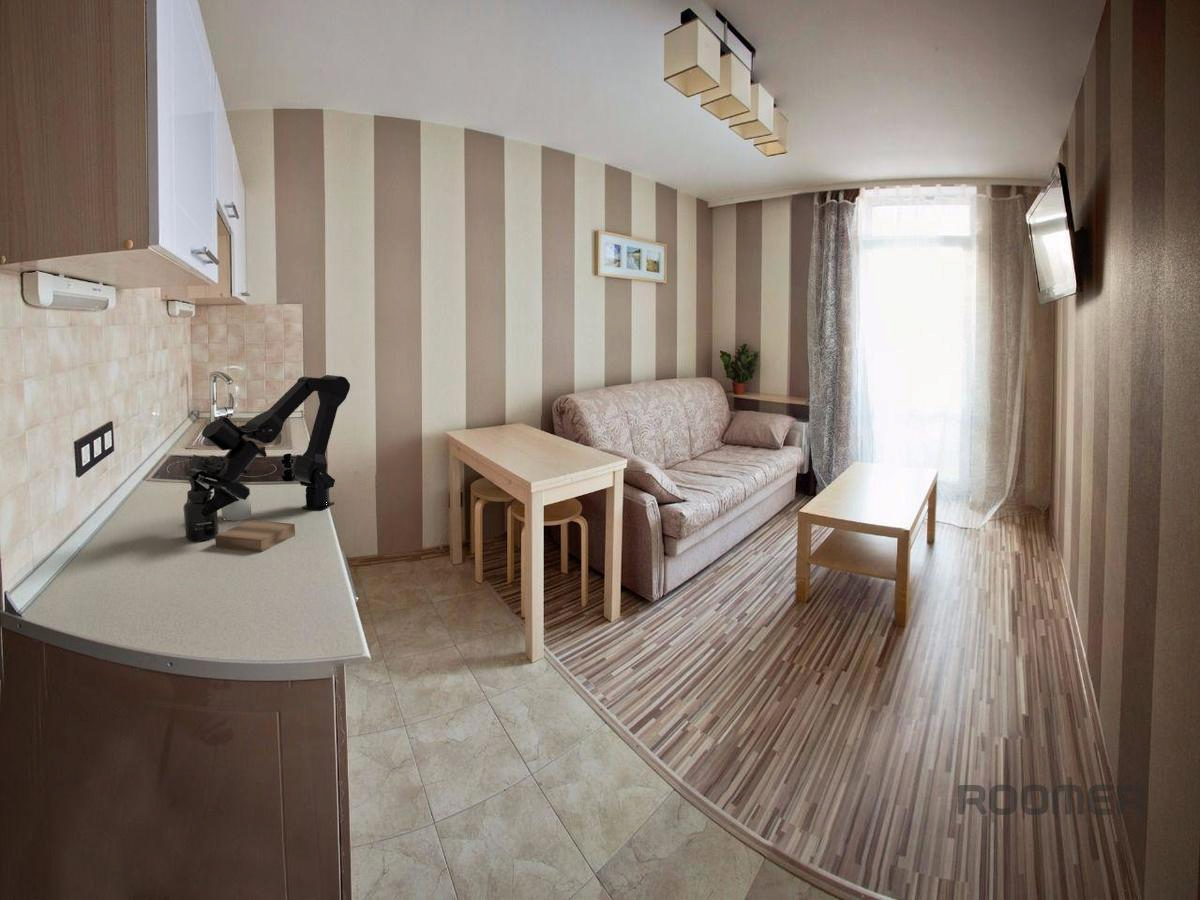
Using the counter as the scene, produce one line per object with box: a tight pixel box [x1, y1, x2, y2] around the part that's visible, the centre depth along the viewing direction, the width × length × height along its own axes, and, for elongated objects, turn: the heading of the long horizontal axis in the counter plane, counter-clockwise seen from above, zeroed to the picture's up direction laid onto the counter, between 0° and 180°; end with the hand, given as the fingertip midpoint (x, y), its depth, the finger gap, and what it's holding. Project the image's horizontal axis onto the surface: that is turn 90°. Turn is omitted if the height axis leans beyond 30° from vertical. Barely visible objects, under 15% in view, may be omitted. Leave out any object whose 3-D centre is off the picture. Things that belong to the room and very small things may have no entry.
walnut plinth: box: [214, 519, 296, 553], centre depth 145 cm, size 12×12×3 cm
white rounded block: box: [220, 485, 253, 521], centre depth 162 cm, size 7×7×8 cm
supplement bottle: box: [183, 488, 220, 542], centre depth 145 cm, size 7×7×12 cm
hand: (194, 512), depth 144 cm, fingers open, 7 cm apart
